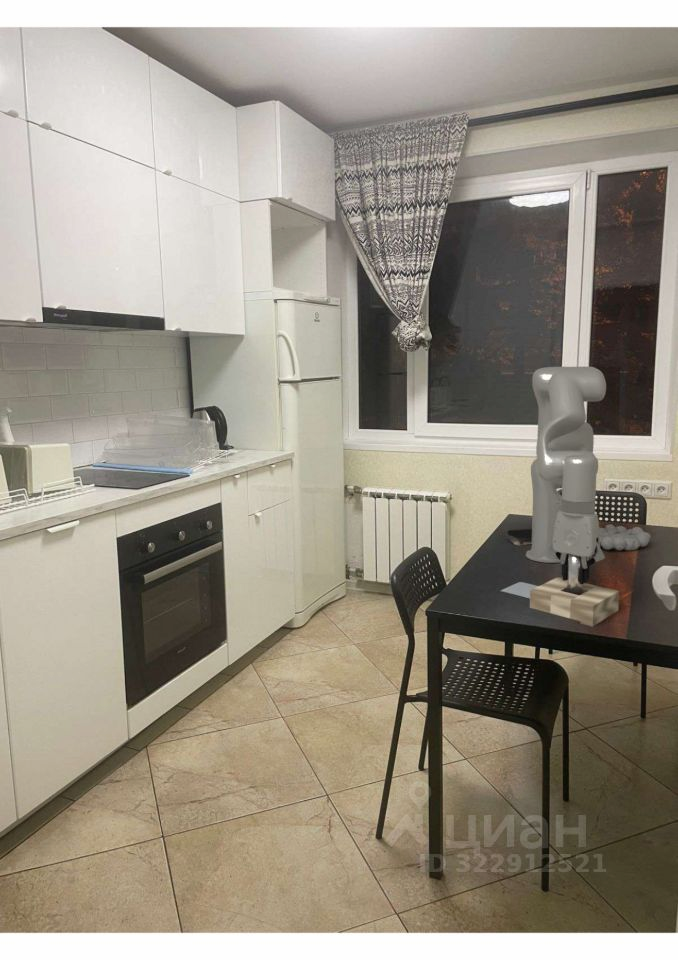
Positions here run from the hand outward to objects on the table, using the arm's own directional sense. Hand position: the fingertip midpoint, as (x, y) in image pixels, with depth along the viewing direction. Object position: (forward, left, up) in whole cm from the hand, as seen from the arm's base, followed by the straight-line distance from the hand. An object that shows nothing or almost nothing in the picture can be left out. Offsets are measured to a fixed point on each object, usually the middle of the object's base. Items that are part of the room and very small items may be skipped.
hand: (575, 580), depth 163 cm
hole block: (0, 0, -8) cm, 8 cm away
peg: (0, 0, -4) cm, 4 cm away
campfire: (-65, -18, -8) cm, 68 cm away
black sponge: (-52, -40, -8) cm, 66 cm away
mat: (-4, -15, -8) cm, 17 cm away
